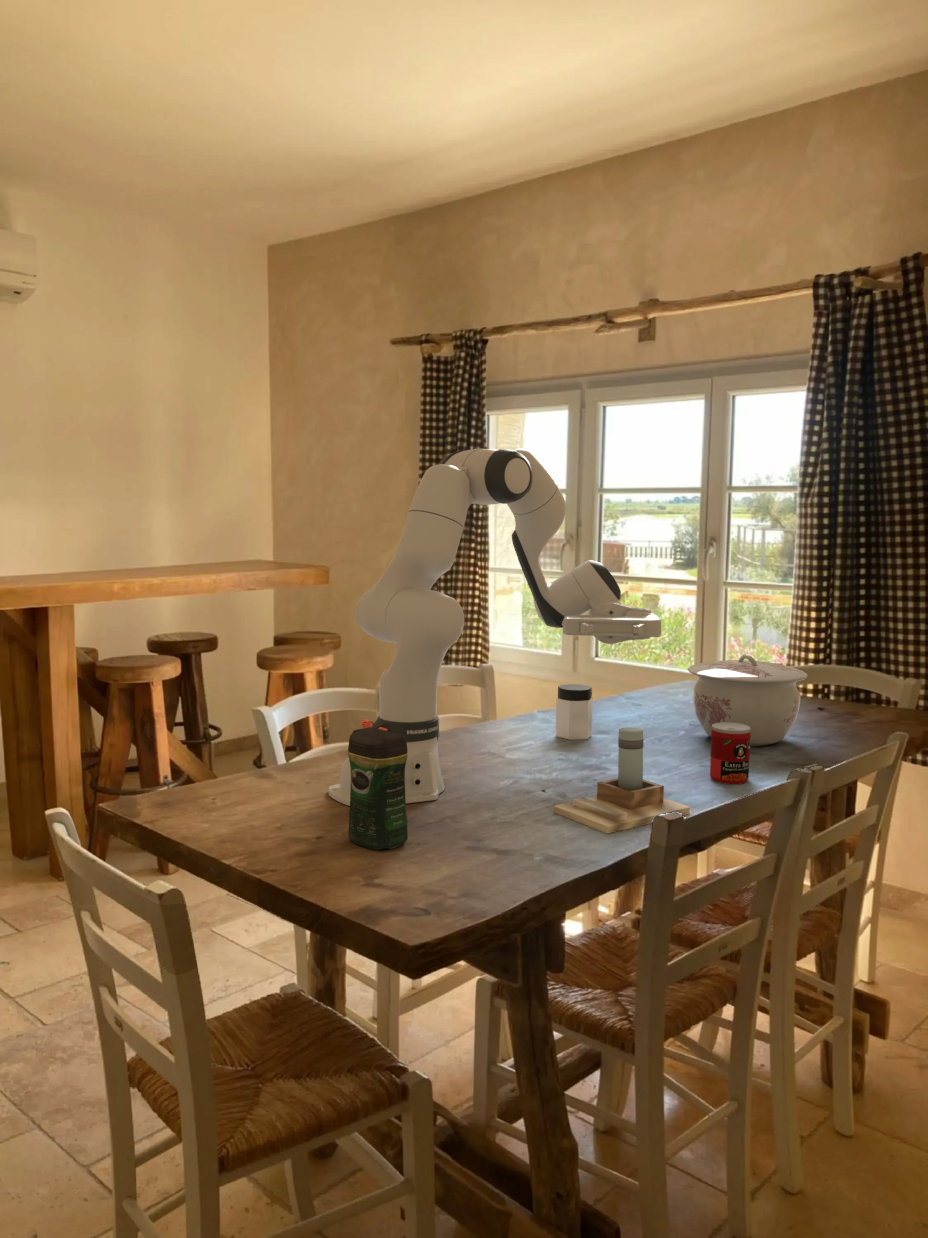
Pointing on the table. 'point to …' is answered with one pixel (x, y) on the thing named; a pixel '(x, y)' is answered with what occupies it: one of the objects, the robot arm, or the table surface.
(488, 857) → the table surface
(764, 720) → the chamber pot
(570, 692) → the jar
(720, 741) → the canned food
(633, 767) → the insulated water bottle
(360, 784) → the coffee jar
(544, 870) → the table surface
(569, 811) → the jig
